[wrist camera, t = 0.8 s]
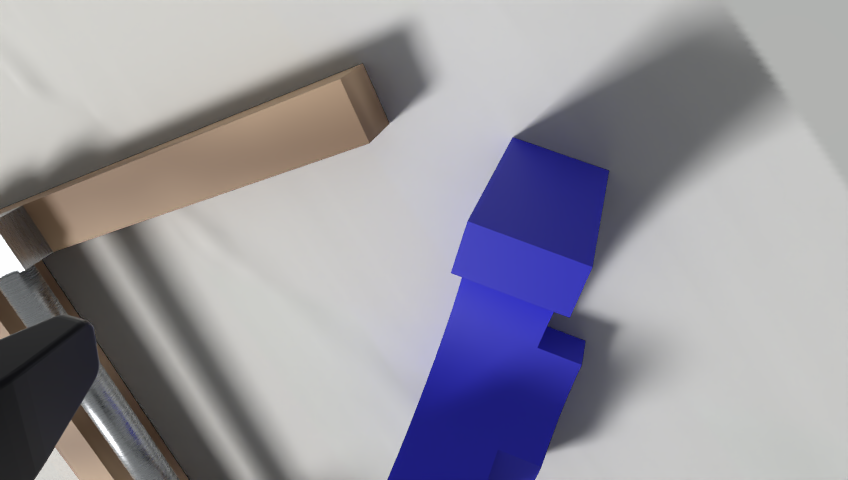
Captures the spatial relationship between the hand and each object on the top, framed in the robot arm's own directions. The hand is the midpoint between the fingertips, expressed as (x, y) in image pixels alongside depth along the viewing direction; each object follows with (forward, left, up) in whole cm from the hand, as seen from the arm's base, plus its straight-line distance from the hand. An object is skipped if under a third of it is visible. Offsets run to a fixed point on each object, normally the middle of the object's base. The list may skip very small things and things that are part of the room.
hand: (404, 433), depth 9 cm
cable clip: (-6, +3, -14) cm, 16 cm away
